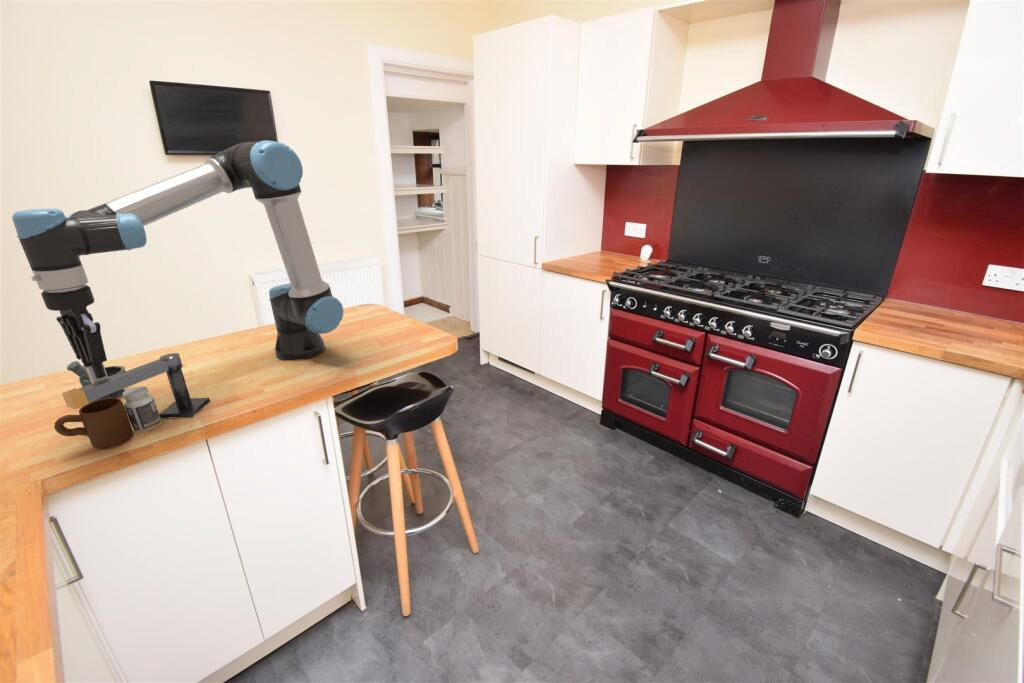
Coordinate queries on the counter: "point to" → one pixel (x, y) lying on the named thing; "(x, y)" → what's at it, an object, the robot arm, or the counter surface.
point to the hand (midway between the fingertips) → (103, 389)
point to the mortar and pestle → (85, 378)
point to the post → (182, 398)
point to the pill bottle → (141, 409)
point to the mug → (100, 423)
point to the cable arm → (121, 381)
